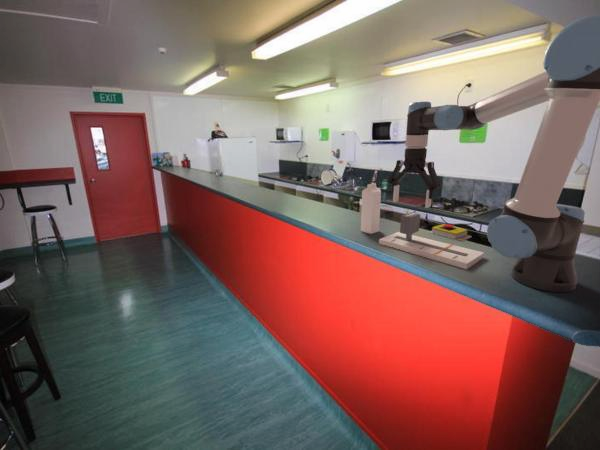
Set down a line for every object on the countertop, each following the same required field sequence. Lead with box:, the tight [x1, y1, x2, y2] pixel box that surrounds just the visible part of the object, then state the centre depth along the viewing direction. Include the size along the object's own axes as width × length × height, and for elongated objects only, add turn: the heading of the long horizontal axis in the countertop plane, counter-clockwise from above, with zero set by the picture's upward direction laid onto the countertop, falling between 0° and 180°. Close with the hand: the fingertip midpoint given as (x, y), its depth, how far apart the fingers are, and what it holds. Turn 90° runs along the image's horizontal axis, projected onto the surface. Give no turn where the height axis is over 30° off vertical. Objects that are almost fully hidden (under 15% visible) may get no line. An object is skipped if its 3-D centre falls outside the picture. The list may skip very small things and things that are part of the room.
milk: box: [360, 182, 382, 235], centre depth 136 cm, size 6×6×22 cm
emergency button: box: [428, 223, 472, 242], centre depth 132 cm, size 9×4×15 cm
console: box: [378, 231, 485, 270], centre depth 115 cm, size 34×14×2 cm, turn 40°
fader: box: [399, 212, 421, 240], centre depth 119 cm, size 4×7×10 cm, turn 130°
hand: (411, 204), depth 116 cm, fingers open, 13 cm apart
